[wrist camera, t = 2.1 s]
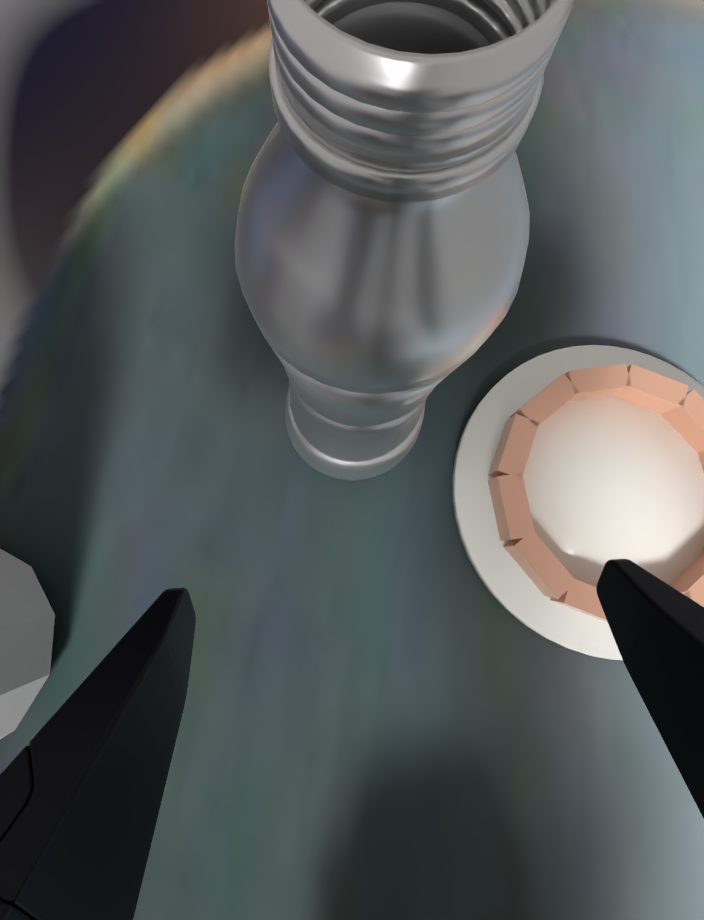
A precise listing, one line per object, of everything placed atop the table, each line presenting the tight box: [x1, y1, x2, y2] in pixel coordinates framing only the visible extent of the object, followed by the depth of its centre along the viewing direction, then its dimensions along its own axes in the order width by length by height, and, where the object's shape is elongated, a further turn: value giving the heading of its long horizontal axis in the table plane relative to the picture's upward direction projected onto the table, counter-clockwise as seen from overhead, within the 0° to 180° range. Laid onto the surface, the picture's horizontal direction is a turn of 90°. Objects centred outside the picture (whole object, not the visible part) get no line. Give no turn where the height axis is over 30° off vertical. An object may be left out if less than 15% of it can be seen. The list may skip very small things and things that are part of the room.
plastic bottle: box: [235, 0, 574, 480], centre depth 15 cm, size 6×7×20 cm
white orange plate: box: [452, 345, 704, 660], centre depth 23 cm, size 16×16×2 cm
